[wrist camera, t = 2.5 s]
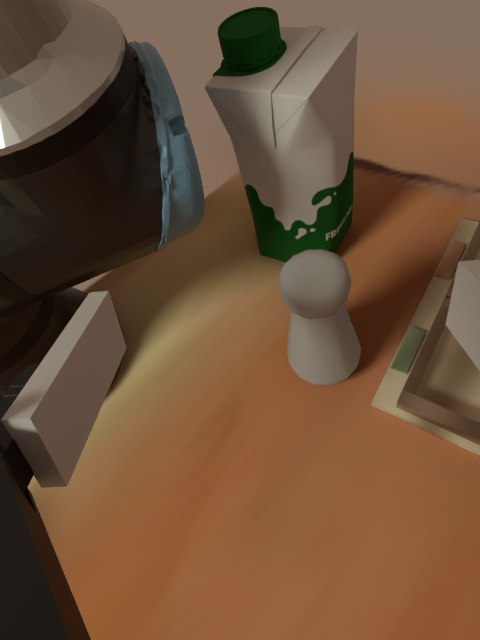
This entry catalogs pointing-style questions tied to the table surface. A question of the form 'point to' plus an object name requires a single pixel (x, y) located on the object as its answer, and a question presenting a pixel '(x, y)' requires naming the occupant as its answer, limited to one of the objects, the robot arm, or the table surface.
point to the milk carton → (289, 127)
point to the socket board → (437, 359)
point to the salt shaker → (319, 317)
